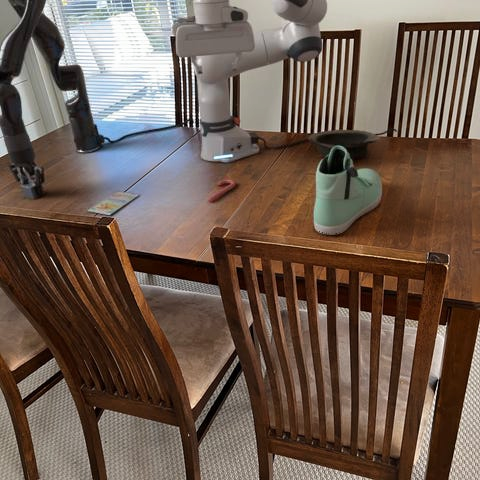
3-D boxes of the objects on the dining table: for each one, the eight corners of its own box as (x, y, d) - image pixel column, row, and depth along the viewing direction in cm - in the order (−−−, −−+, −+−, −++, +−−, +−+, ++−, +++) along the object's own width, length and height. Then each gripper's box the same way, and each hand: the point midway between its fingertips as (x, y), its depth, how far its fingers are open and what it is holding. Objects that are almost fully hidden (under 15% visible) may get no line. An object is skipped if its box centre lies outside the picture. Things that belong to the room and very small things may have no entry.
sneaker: (389, 187, 148) (396, 123, 138) (356, 242, 123) (361, 168, 112) (346, 181, 154) (350, 119, 144) (306, 232, 129) (307, 161, 118)
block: (24, 197, 161) (21, 186, 159) (35, 191, 165) (32, 180, 163) (34, 199, 160) (30, 188, 158) (44, 193, 163) (41, 182, 161)
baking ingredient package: (86, 209, 148) (117, 190, 160) (87, 211, 148) (117, 191, 160) (109, 214, 145) (139, 194, 156) (109, 215, 145) (139, 195, 156)
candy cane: (196, 199, 151) (195, 195, 150) (224, 181, 161) (224, 177, 160) (211, 203, 148) (210, 199, 147) (239, 184, 158) (238, 180, 157)
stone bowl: (336, 174, 158) (335, 147, 154) (295, 157, 179) (293, 133, 174) (394, 156, 167) (394, 130, 163) (348, 141, 187) (348, 118, 183)
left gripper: (-6, 147, 153) (11, 196, 162) (25, 152, 147) (41, 202, 156) (12, 140, 159) (28, 186, 168) (44, 144, 153) (58, 192, 162)
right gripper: (170, 19, 116) (178, 78, 123) (254, 12, 117) (256, 71, 124) (171, 16, 121) (178, 73, 129) (251, 9, 122) (254, 66, 130)
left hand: (34, 194), depth 162 cm, fingers closed on block, 4 cm apart
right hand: (217, 72), depth 126 cm, fingers open, 8 cm apart
